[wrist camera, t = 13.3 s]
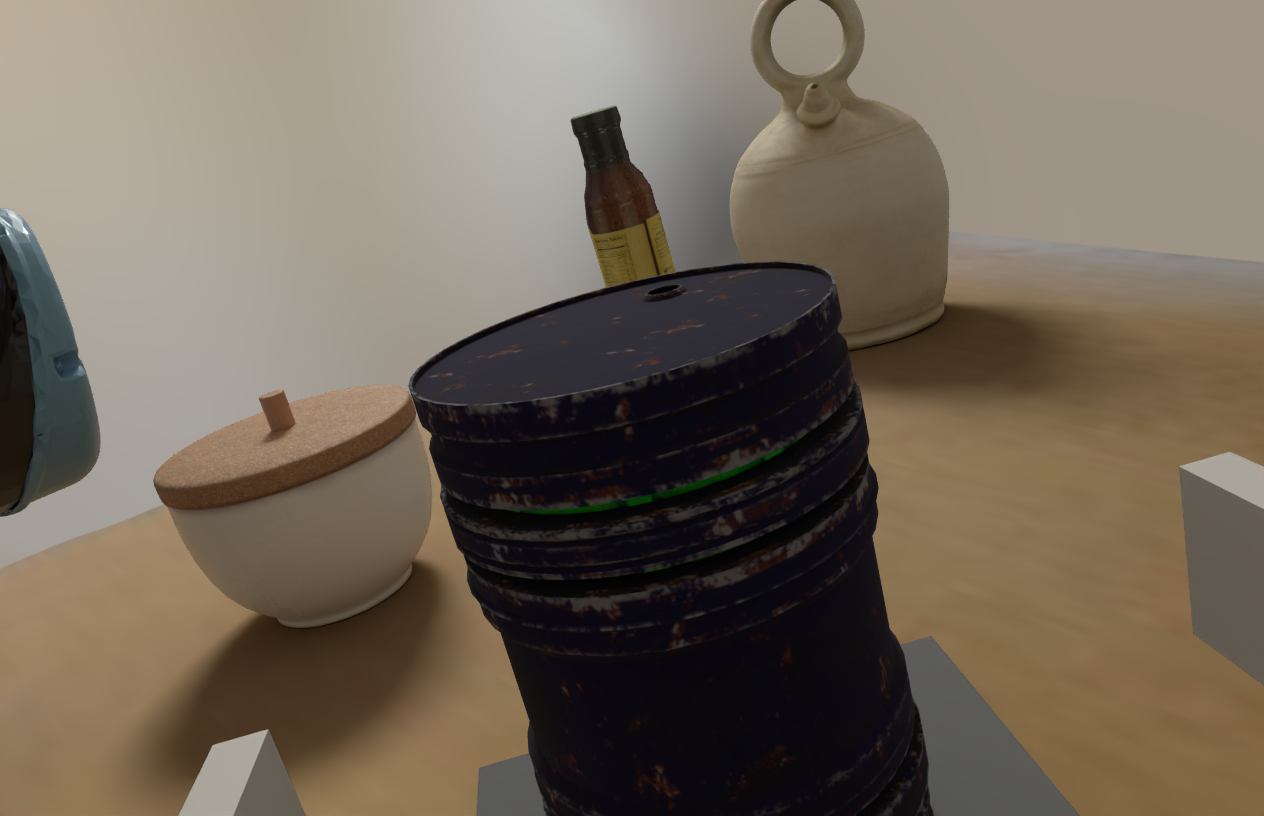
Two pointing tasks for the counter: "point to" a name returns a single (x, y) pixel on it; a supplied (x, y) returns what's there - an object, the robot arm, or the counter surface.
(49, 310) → the robot arm
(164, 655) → the counter surface
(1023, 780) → the mat
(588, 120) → the sauce bottle
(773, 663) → the dark blue cylinder
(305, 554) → the lidded bowl
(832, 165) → the jug
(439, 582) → the counter surface
